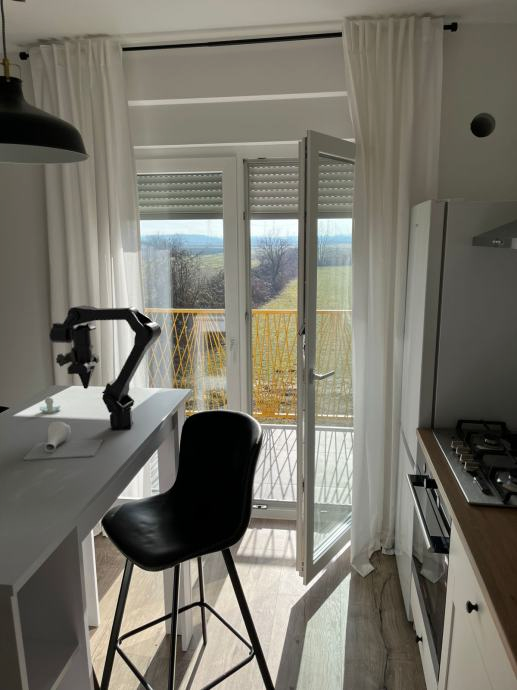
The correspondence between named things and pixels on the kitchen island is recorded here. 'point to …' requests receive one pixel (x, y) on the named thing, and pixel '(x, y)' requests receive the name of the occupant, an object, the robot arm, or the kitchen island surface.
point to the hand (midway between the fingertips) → (86, 388)
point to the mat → (65, 450)
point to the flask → (57, 435)
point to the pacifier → (49, 406)
